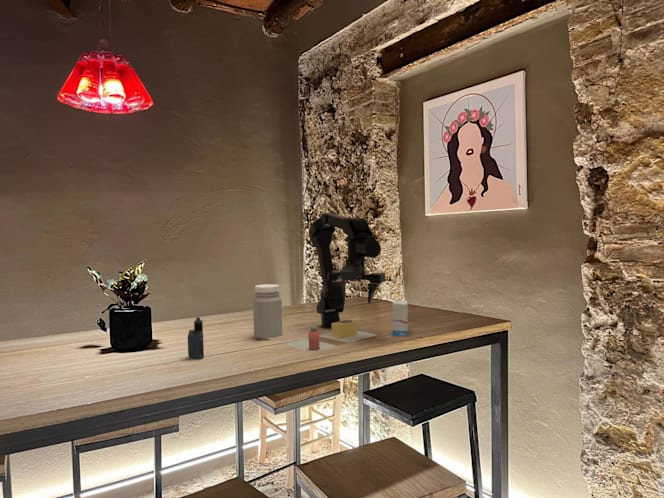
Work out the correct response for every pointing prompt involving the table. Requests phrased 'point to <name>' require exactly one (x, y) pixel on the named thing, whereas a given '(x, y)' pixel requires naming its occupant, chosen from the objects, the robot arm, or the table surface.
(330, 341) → the subfloor panel
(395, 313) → the ink box
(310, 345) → the small red bottle
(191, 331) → the vaping device
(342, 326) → the block
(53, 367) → the table surface
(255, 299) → the jar
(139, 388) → the table surface
